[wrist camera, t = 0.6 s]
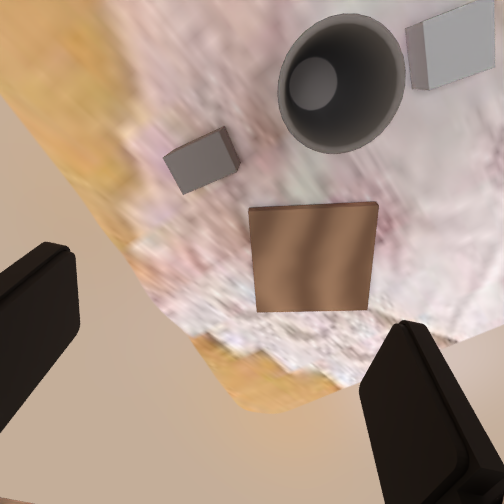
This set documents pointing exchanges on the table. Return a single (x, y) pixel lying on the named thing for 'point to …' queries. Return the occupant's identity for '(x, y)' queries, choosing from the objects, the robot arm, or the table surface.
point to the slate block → (452, 45)
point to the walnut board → (313, 256)
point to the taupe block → (203, 161)
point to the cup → (341, 83)
